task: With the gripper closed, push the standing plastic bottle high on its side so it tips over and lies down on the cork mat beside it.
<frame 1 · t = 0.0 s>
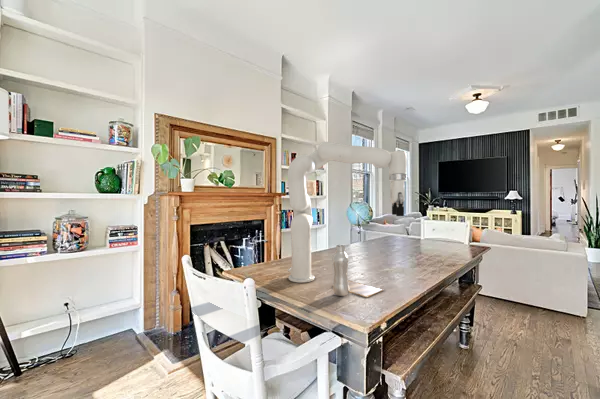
hand: (397, 215, 130), 31 cm above the table, tool pointing down, fingers open, 9 cm apart
cork mat: (357, 288, 122), on the table
plastic bottle: (340, 295, 115), on the table
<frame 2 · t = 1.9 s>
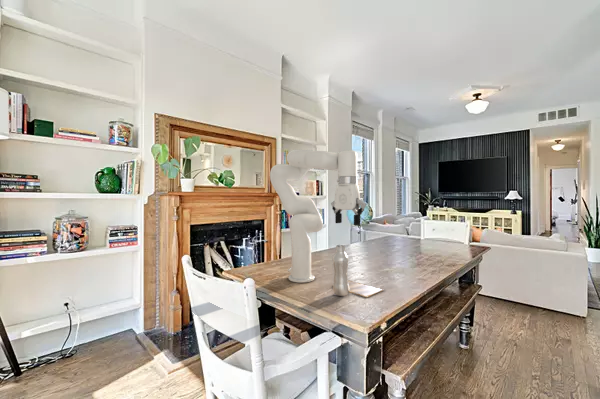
hand: (347, 223, 114), 29 cm above the table, tool pointing down, fingers open, 9 cm apart
nothing on the table moved.
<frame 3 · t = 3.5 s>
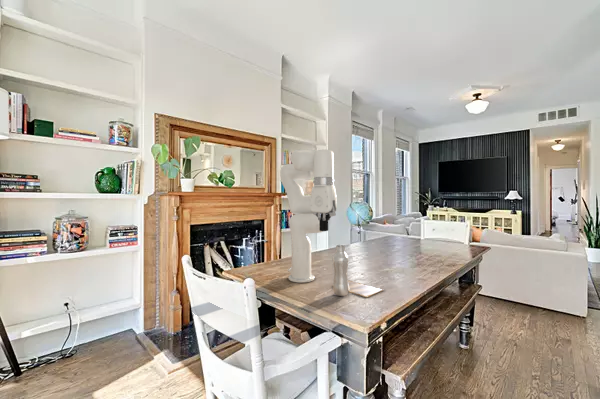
hand: (323, 230, 108), 27 cm above the table, tool pointing down, fingers closed
nothing on the table moved.
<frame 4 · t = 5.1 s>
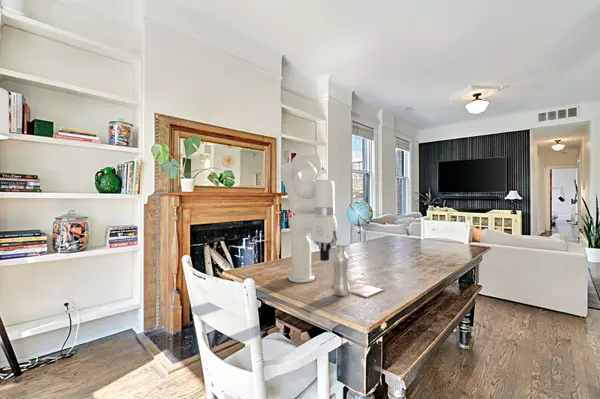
hand: (324, 260, 108), 16 cm above the table, tool pointing down, fingers closed
nothing on the table moved.
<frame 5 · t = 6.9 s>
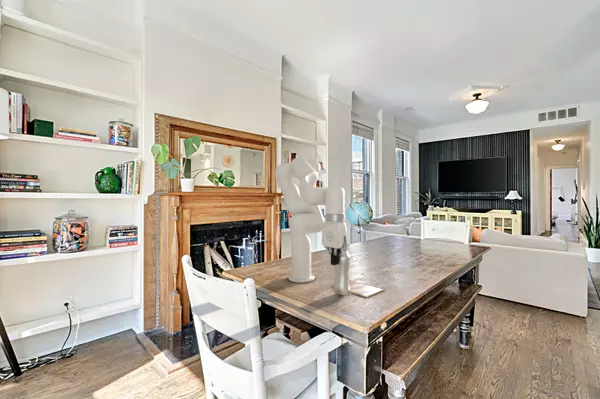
hand: (334, 264, 112), 13 cm above the table, tool pointing down, fingers closed
plastic bottle: (340, 294, 115), on the table, touching gripper
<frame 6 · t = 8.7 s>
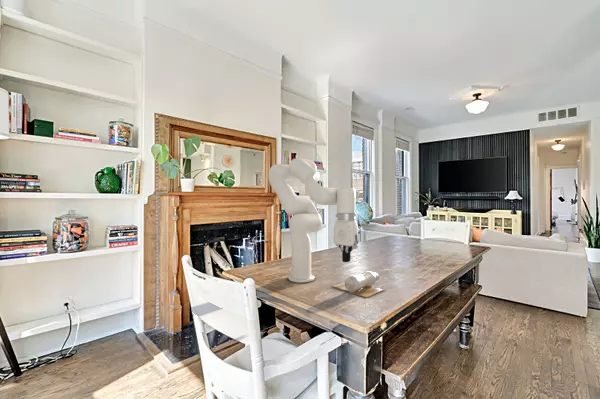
hand: (346, 261, 117), 13 cm above the table, tool pointing down, fingers closed
plastic bottle: (348, 285, 115), point 4 cm above the table, touching cork mat
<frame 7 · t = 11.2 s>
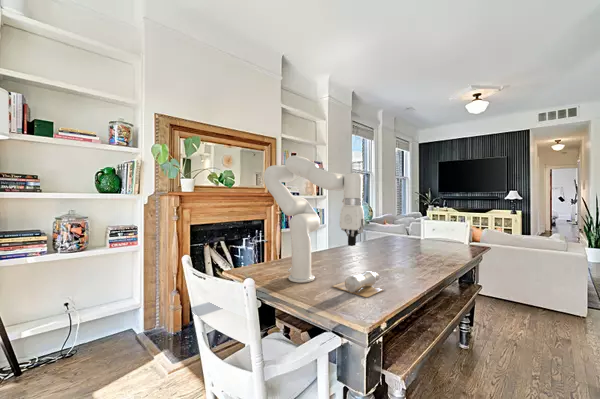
hand: (351, 245, 120), 19 cm above the table, tool pointing down, fingers closed
nothing on the table moved.
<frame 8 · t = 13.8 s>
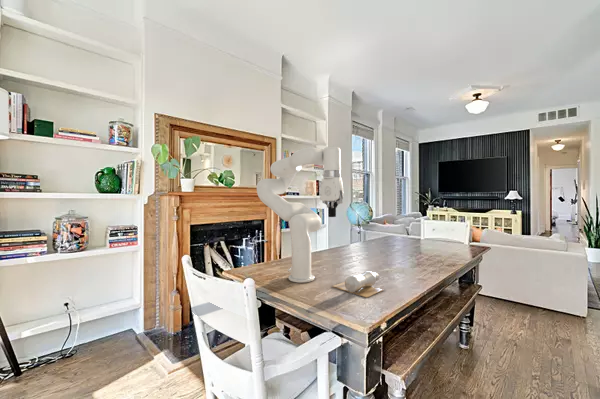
hand: (332, 216, 124), 31 cm above the table, tool pointing down, fingers closed
nothing on the table moved.
at the end: plastic bottle tilted 92°; plastic bottle point 3.9 cm above the table; plastic bottle touching cork mat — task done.
